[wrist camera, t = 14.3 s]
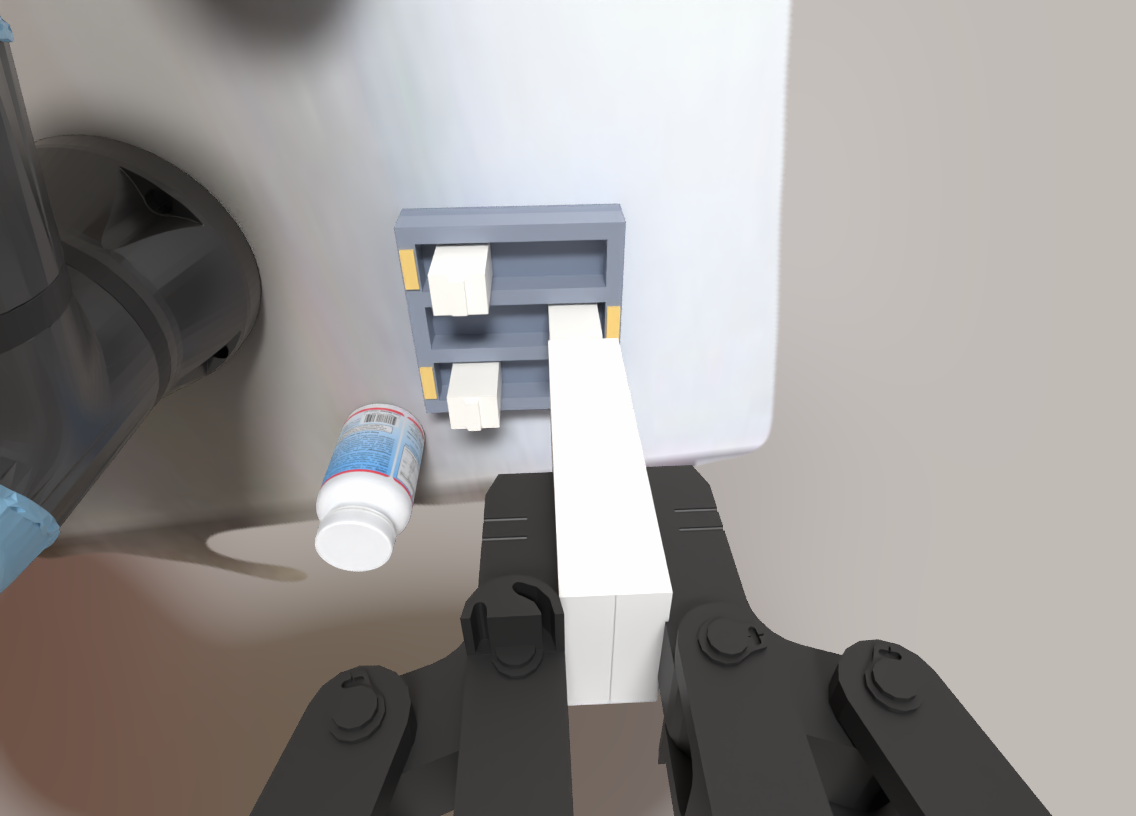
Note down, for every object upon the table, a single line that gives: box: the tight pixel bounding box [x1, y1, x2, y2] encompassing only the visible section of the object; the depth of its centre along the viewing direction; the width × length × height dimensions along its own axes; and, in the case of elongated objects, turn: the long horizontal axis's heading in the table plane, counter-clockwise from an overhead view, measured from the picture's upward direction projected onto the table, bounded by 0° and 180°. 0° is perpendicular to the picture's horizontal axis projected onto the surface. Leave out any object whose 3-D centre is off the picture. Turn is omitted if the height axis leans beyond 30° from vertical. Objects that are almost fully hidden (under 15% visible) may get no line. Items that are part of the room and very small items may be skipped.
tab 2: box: [447, 361, 502, 431], centre depth 41 cm, size 3×2×6 cm
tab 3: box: [548, 302, 602, 340], centre depth 39 cm, size 3×2×6 cm
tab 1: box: [428, 242, 493, 316], centre depth 36 cm, size 3×2×6 cm
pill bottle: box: [315, 403, 425, 571], centre depth 44 cm, size 6×6×11 cm
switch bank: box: [394, 204, 626, 413], centre depth 41 cm, size 13×13×3 cm
